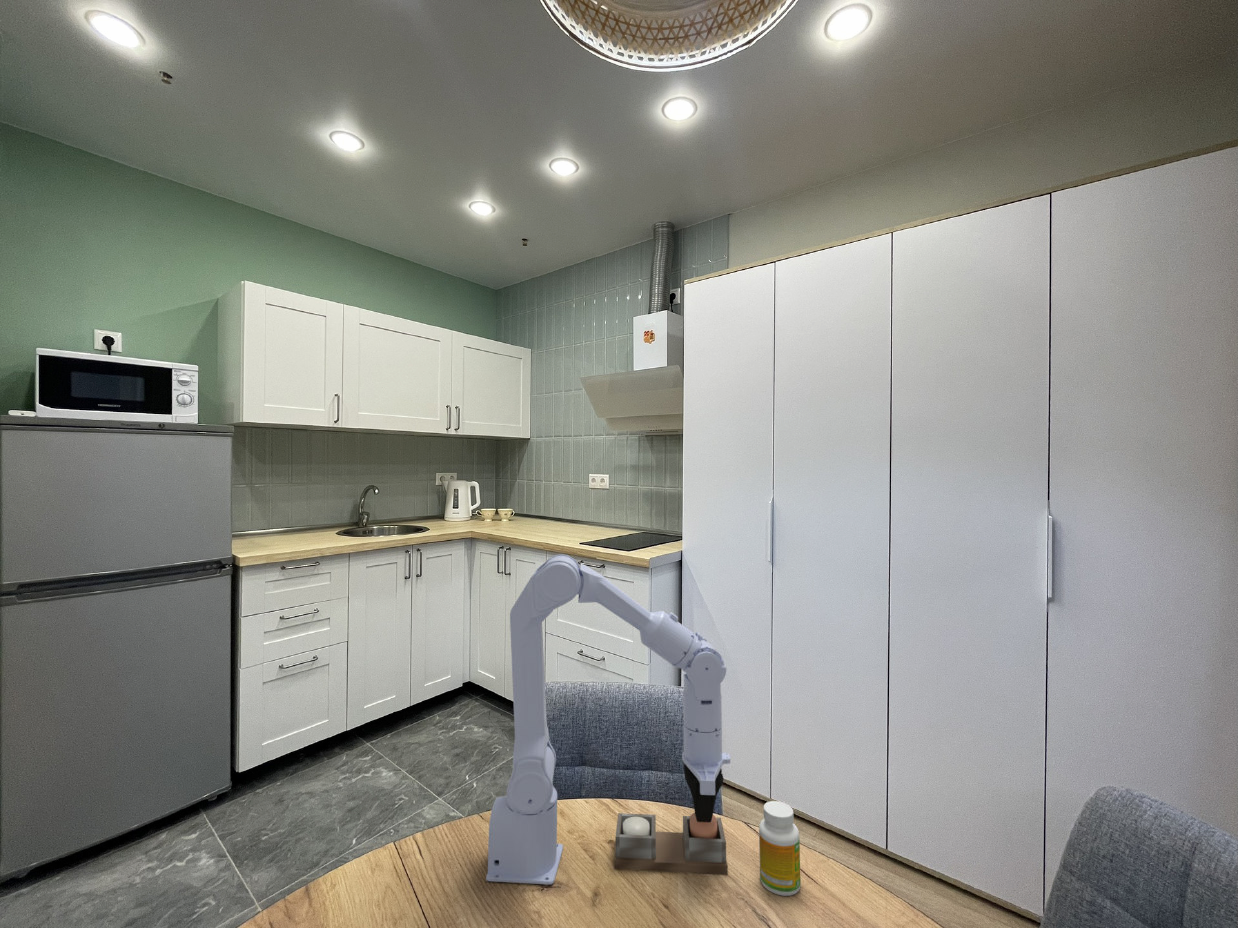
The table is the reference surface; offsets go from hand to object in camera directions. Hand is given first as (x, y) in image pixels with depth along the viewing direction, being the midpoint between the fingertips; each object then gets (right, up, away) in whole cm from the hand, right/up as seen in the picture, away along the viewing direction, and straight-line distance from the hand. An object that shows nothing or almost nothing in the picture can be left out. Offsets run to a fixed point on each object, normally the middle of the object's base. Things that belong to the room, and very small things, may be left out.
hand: (703, 819), depth 77 cm
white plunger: (-10, -4, 0) cm, 11 cm away
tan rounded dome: (0, -2, 0) cm, 2 cm away
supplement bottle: (+10, -5, -6) cm, 12 cm away
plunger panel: (-5, -5, 0) cm, 7 cm away
